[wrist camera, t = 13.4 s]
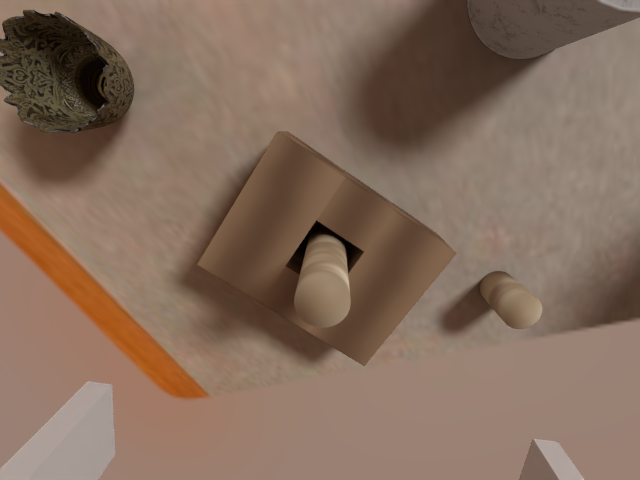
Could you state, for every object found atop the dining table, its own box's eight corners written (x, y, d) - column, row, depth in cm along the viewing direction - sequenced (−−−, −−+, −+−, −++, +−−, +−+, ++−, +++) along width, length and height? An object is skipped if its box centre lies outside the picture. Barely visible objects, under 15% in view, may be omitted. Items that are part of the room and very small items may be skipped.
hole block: (436, 232, 34) (456, 253, 28) (359, 329, 37) (364, 366, 32) (287, 131, 32) (277, 131, 27) (219, 242, 35) (197, 264, 30)
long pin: (351, 232, 35) (362, 295, 21) (331, 259, 35) (330, 337, 22) (321, 213, 34) (313, 265, 21) (303, 241, 35) (283, 309, 21)
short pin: (521, 283, 35) (550, 306, 31) (498, 308, 36) (523, 335, 31) (494, 264, 35) (520, 286, 30) (472, 291, 36) (493, 315, 31)
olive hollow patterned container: (75, 128, 33) (-4, 127, 25) (69, 34, 31) (-20, 2, 23) (160, 137, 33) (107, 139, 25) (159, 44, 31) (101, 15, 23)
